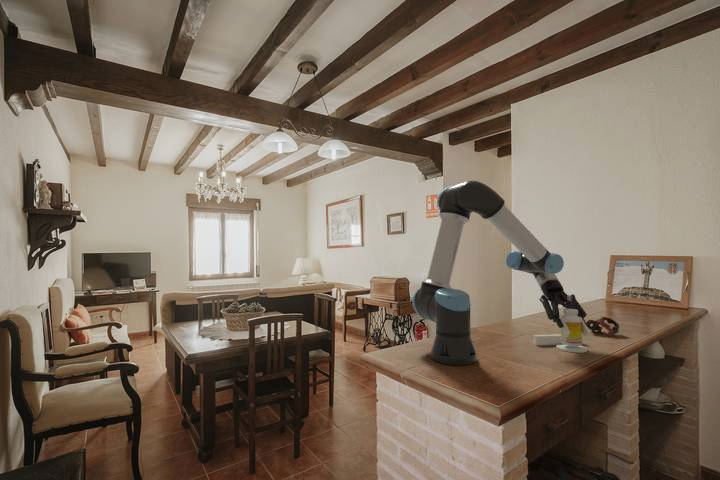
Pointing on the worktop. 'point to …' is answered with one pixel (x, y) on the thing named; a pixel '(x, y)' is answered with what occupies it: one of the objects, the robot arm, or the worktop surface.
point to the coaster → (572, 348)
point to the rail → (548, 339)
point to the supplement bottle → (572, 328)
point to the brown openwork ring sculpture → (603, 325)
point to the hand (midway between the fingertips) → (577, 334)
